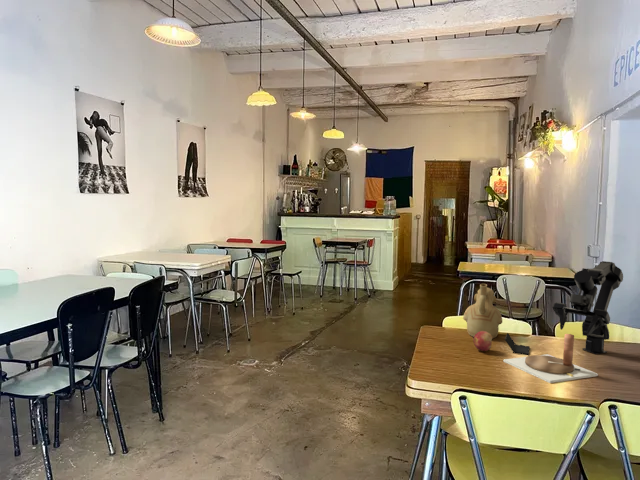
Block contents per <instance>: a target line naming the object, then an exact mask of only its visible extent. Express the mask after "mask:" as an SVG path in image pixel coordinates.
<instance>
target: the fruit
mask: <svg viewBox="0 0 640 480" xmlns="http://www.w3.org/2000/svg"><path fill="white" fill-rule="evenodd" d="M472 337H473V336H472ZM492 341H493V338H492V335H491V334H489V333H488V332H485V331H481V332H478V333H477V334H476V335H475V336H474V337H473V344H474V346H475V348H476V349H477V350H478V351H481V352H487V351H490V350H491V349H492V344H493V343H492Z"/></svg>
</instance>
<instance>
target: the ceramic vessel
mask: <svg viewBox="0 0 640 480" xmlns="http://www.w3.org/2000/svg"><path fill="white" fill-rule="evenodd" d="M494 294H495V292H494V290H493V289H492V288H490V287H488V284H486V283H481V284H479V289H478V290H477V293H475V294H474V298H473V300H474V301H475V303H473V304H471V305H469V306H468V307H467V308H466V309H465V312H464V313H463V318H462V319H463V320H464V321H465V322H466V331H467V333H468V335H469V336H471V337H474V336H475V335H476V334H477V333H478V332H481V331H485V332H488V333H489V334H491V335H492V339H495V338H496V337H497V336H498V334H499V330H500V329H499V326H500V325H502V324H503V316H502V313H501V311H500V310H499V309H498V308H497V307H495V306H494V305H493V304H495V302H496V300H497V298H496V296H495V295H494Z"/></svg>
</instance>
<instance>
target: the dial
mask: <svg viewBox="0 0 640 480" xmlns="http://www.w3.org/2000/svg"><path fill="white" fill-rule="evenodd" d="M563 341H564V342H563V357H562V358H559V357H556V356H554V357H551V356H552V355H551V356H544V355H545V354H540V355H539V354H535V355H533V354H532V355H527V356H525V357H526V358H525V363H526V365H528V366H529V367H531V368H534V369H536V370H540V371H544V372H549V373H557V374H565V373H571V372H573V371H574V365H575V364H574V363H573V361H574V360H573V359H574V358H573V357H574V342H575V335H574V334H571V333H564V339H563ZM573 364H574V365H573Z"/></svg>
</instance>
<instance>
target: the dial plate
mask: <svg viewBox="0 0 640 480" xmlns="http://www.w3.org/2000/svg"><path fill="white" fill-rule="evenodd" d="M543 355H544V356H551V357H555V356H553V355H551V354H547V353H546V354H543ZM526 357H527V356H523V357H522V356H520V357H513V358H505V359H503V361H502V362H503V363H505V364H508V365H510V366H512V367H514V368H516V369H519V370H521V371H523V372H525V373H527V374H529V375H532V376H534V377H535V378H536V377H537V379H540V380H542V381H545V382H546V383H548V384H553V383H559V382H566V381H573V380H580V379H587V378H592V377H593V378H594V377H598V376H599V374H598V373H597V372H595V371H592V370H590V369H587V368H584V367H582V366H579V365H577V364H574V363H572V364H573V365H574V371H573V372H571V373H565V374H557V373H549V372H544V371H540V370H536V369H534V368H531V367H529V366H528V365H526V363H525V358H526Z"/></svg>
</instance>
